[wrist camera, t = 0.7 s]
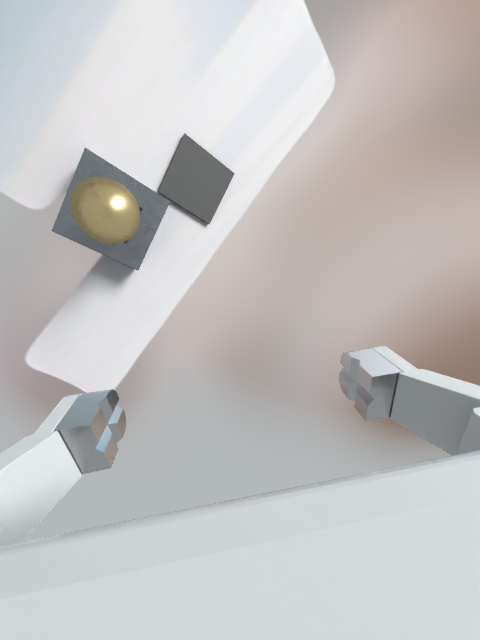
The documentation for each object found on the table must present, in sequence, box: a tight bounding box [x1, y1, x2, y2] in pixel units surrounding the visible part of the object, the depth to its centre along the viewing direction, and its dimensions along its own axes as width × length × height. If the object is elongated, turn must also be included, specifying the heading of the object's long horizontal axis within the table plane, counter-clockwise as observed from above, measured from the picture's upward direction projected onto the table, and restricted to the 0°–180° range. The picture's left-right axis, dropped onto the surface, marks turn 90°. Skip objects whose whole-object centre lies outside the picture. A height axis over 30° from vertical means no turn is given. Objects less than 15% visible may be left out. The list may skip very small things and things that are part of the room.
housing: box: [52, 148, 170, 270], centre depth 38 cm, size 12×12×5 cm
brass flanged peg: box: [71, 177, 140, 244], centre depth 32 cm, size 7×7×13 cm
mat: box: [158, 133, 234, 224], centre depth 42 cm, size 10×10×1 cm
